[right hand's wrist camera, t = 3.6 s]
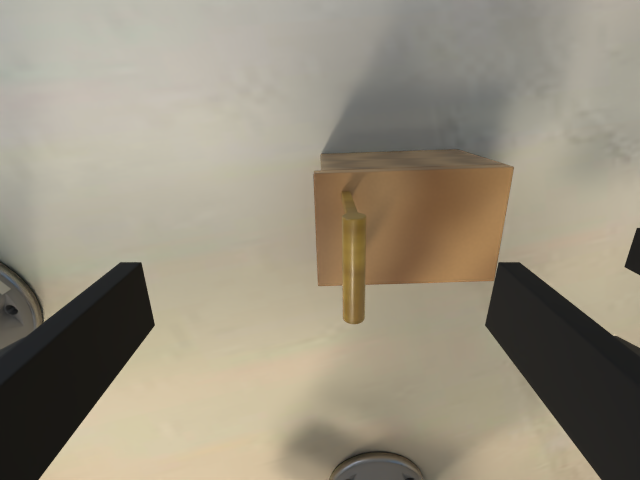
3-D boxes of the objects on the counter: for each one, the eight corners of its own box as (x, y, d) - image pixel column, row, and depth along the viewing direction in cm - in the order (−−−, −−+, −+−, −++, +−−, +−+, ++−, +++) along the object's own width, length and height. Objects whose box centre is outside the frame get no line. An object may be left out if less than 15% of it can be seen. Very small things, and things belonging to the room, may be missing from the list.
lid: (317, 279, 30) (317, 342, 22) (313, 170, 27) (311, 198, 19) (487, 274, 30) (548, 335, 22) (506, 164, 26) (586, 189, 18)
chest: (323, 238, 39) (324, 279, 30) (320, 153, 36) (321, 170, 27) (447, 234, 39) (487, 274, 30) (457, 149, 36) (505, 164, 26)
